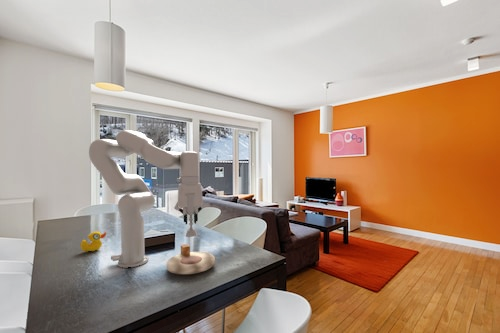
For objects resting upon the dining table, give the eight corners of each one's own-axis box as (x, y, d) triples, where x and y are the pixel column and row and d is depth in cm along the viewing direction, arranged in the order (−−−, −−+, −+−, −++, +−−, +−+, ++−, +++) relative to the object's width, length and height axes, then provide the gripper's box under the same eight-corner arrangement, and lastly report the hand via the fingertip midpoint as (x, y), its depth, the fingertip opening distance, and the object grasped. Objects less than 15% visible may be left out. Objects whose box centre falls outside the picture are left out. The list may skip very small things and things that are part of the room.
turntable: (174, 279, 89) (173, 264, 89) (161, 261, 106) (161, 248, 106) (222, 266, 100) (222, 252, 100) (204, 252, 116) (204, 240, 116)
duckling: (105, 247, 132) (105, 229, 132) (107, 249, 127) (106, 231, 127) (80, 251, 125) (80, 232, 125) (80, 254, 121) (80, 235, 121)
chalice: (186, 232, 106) (184, 192, 106) (201, 232, 106) (199, 191, 106) (180, 237, 99) (179, 194, 99) (197, 237, 99) (195, 193, 99)
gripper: (169, 181, 97) (170, 227, 97) (210, 180, 101) (211, 223, 101) (169, 180, 104) (170, 223, 104) (208, 179, 108) (208, 219, 109)
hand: (190, 222), depth 103 cm, fingers closed on chalice, 3 cm apart
